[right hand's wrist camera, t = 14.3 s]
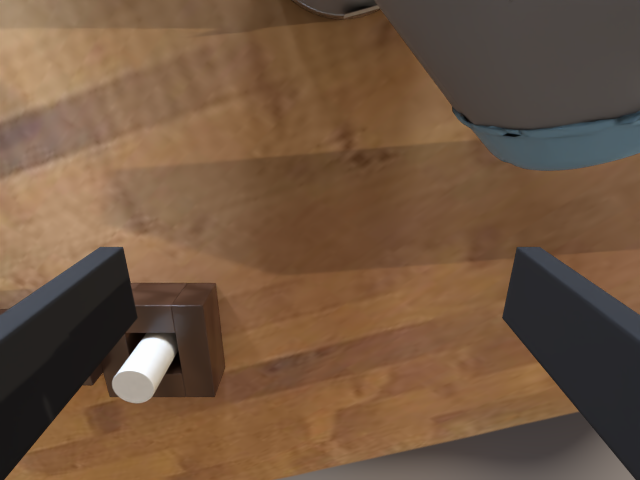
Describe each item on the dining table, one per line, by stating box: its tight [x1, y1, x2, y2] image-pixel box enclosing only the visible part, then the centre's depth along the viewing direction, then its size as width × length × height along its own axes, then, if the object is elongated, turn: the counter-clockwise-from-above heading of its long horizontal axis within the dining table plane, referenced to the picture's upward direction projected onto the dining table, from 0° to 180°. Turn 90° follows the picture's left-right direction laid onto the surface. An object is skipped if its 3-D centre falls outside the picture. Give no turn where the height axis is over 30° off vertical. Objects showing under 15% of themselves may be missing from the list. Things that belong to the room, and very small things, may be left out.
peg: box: [112, 332, 178, 403], centre depth 40 cm, size 4×4×10 cm
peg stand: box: [0, 283, 225, 397], centre depth 41 cm, size 32×12×7 cm, turn 90°
